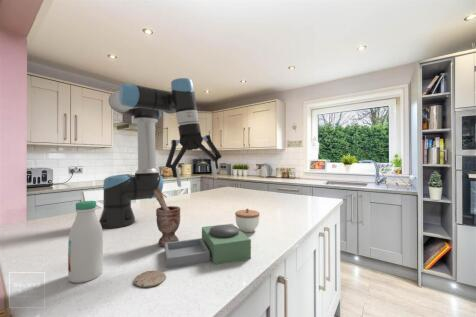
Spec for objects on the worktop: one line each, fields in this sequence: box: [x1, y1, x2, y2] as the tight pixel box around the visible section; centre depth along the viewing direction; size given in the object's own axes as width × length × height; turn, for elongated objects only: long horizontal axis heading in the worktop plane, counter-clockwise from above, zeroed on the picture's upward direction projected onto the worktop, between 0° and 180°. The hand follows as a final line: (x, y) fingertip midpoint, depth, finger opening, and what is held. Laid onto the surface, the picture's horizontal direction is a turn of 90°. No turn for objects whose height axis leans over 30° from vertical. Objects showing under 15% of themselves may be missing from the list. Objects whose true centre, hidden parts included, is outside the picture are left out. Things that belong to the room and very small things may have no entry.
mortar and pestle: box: [154, 189, 181, 248], centre depth 84 cm, size 12×9×20 cm
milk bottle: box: [67, 200, 104, 284], centre depth 60 cm, size 8×8×20 cm
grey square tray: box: [164, 237, 211, 269], centre depth 73 cm, size 13×13×3 cm
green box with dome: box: [201, 223, 252, 266], centre depth 77 cm, size 18×12×7 cm, turn 21°
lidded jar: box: [234, 208, 260, 233], centre depth 99 cm, size 11×11×9 cm
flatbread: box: [133, 269, 167, 288], centre depth 59 cm, size 8×8×1 cm
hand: (198, 182), depth 82 cm, fingers open, 13 cm apart
